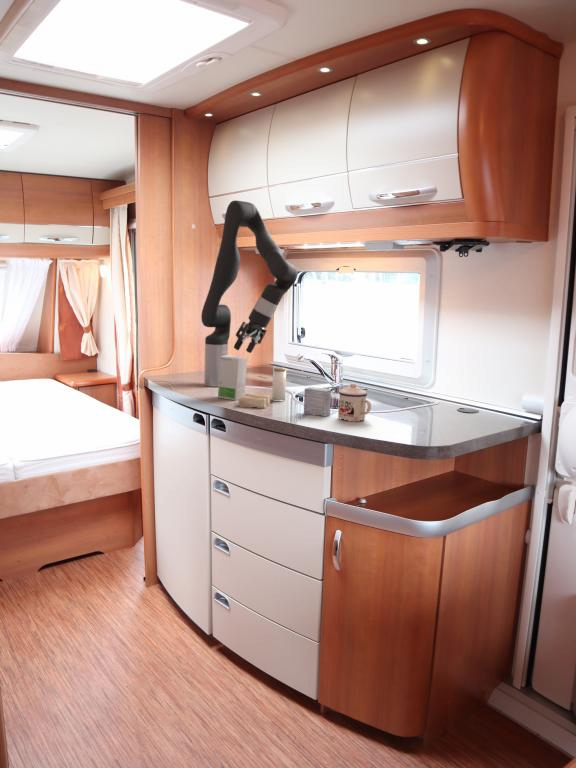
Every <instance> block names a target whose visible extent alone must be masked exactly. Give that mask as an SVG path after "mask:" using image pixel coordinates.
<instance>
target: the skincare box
mask: <svg viewBox="0 0 576 768" xmlns="http://www.w3.org/2000/svg"><path fill="white" fill-rule="evenodd" d="M247 365H248V357H244V356H239V355H233V354H227V355H226V356H220V370H219V387H217V388H218V390H217V398H219V399H226V400H231V401H235V400H236V401H239V398H240V397H241V396H243V395H245V394H246V384H247V381H246V380H247Z"/></svg>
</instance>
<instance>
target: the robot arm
mask: <svg viewBox="0 0 576 768" xmlns="http://www.w3.org/2000/svg"><path fill="white" fill-rule="evenodd" d="M223 223H224V224H223V230H222V236H221V241H220V246H219V250H218V255H217V257H216V262H215V265H214V271H213V274H212V279H211V282H210V286H209V290H208V293H207V295H206V298H205V300H204V301H205V302H204V304H203V306H202V310H201V315H200V316H201V322H202V325H203V326H204V327H205V328H206V327H207V328H214V331H213V332H211V333H209V334H208V335H206V336H205V338H204V378H203V379H204V381H203V384H204V386H206V387H211V388H213V387H214V388H218V387H219V370H220V356H226V355H228V353H229V352H228V350H229V349H228V347H229V346H228V344H229V339H230V335H231V334H230V333H231V322H232V321H231V320H232V313H231V310H230V307H229V306H227V304H220V302H221V299H222V298H223V296H224V295H225V293H226V292H227V290H229V288H230V287H231V286H232V285H233V284H234V282H235V281H236V279H237V278H238V273H239V270H240V266H241V255H240V251H239V248H238V242H237V241H238V233H239V229H240V227H243V228H248V229H249V230H250V231H251V232H252V233H253V234H254V236H255V246H256V249H257V251H258V253H259V255H260V256H261V257H262V259H263V260H264V262H266V265H267V267H268V271H269V273H270V274H271V275H272V276H273V278H275V279H276V280H275V281H274V282H273V283H268V284H267V285H266V286H265V288H264V289H263V290H262V293H261V295H260V296H259V298H258V299H257V301H256V302H255V304H254V306H253V308H252V310H251V312H250V313H249V315H248V317H247V318H248V320H249V321H248V323H247V322H245V321H242V323H241V325H240V326H239V328H238V329H237V332H236V333H235V337H237V340H236V342H235V344H234V346H233V348H234V349H235V350H236V351H240V349H241V348H242V345H243V343H244V341H246V339H249V338H250V342H249V343H248V345H247V348H246V350H245V351H246V352H247V353H249V354H251V353H252V352H253V350H254V348H255V347H256V346H257V345H258V344H259V345H260V344H261V343H262V341H263V339H264V337H265V335H266V334H267V329H266V328H267V327H268V325H269V324H270V322H271V320H272V318H273V317H274V314H275V312H276V310H277V308H278V305H279V304H280V302H281V300H282V298H283V297H284V295H285V294H286V293H287V292H288V291H289V290H290V288H291V287H293V285H294V284H295V282H296V280H297V278H298V274H299V273H298V272H299V271H298V268H297V267H296V266H295V265H294V264H292V263H291V262H288V261H287V260H286V259H285V258H284V253H283V252H282V250H281V248H280V247H279V245H278V244H277V242H276V241H275V240H274V239H273V236H272V235H271V234H270V232H269V230H268V229H267V226H266V224H265V222H264V220H263V218H262V216H261V215H260V212H259V210H258V208H257V207H256V205H255V204H253V203H251V202H249V201H244V200H243V201H241V200H232V201H231V202H229V204H228V206H227V208H226V211H225V215H224V222H223Z"/></svg>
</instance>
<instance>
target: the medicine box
mask: <svg viewBox="0 0 576 768" xmlns="http://www.w3.org/2000/svg"><path fill="white" fill-rule="evenodd" d="M331 394H332V390H331V389H330V388H322V387H314V386H310V387H306V388H304V398H303V399H304V400H303V401H304V402H303V414H304V413H306V415H311V414H315V415H314V416H317V415H323V416H322V417H326V416H325V415H327V416H329V415H328V414H330V415H331V400H332V399H331V397H332V395H331Z"/></svg>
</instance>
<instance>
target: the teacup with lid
mask: <svg viewBox="0 0 576 768" xmlns="http://www.w3.org/2000/svg"><path fill="white" fill-rule="evenodd" d="M349 385H350V386H347V387H344V388H342V389H339V391H338V396H339V398H338V399H339V400H338V415H337V417H339V418H341V419H345V420H350V421H349V422H351V421H358V422H361V421H360V420H363V421H365V419H366V415H368V414H370V411H371V410H372V404H371V401H370V400H369V399H367V396H368V393H367V391H366V390H364V389H361V388H360V387H359V386H357V383H353V382H351V383H350V384H349ZM366 404H367V408H366ZM339 418H338V419H339ZM341 419H340V420H341Z"/></svg>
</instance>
